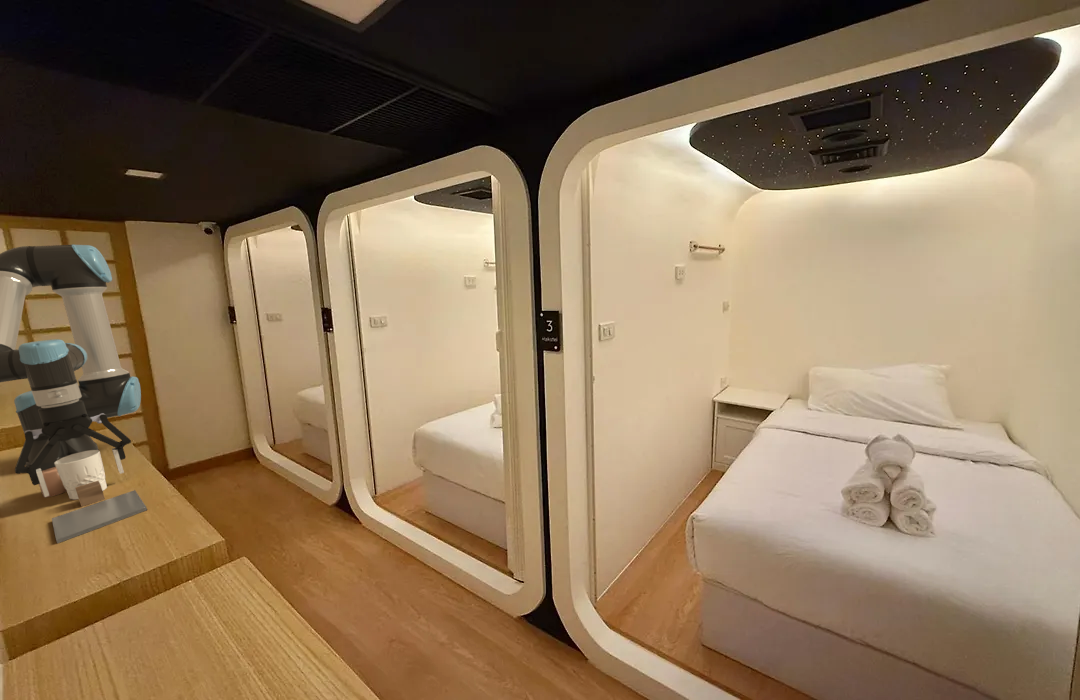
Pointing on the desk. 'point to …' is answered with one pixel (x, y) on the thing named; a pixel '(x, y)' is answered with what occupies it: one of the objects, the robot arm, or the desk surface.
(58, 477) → the copper rounded block
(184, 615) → the desk surface
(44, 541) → the desk surface
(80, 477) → the white cup
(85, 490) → the walnut block
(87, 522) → the coaster
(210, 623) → the desk surface
